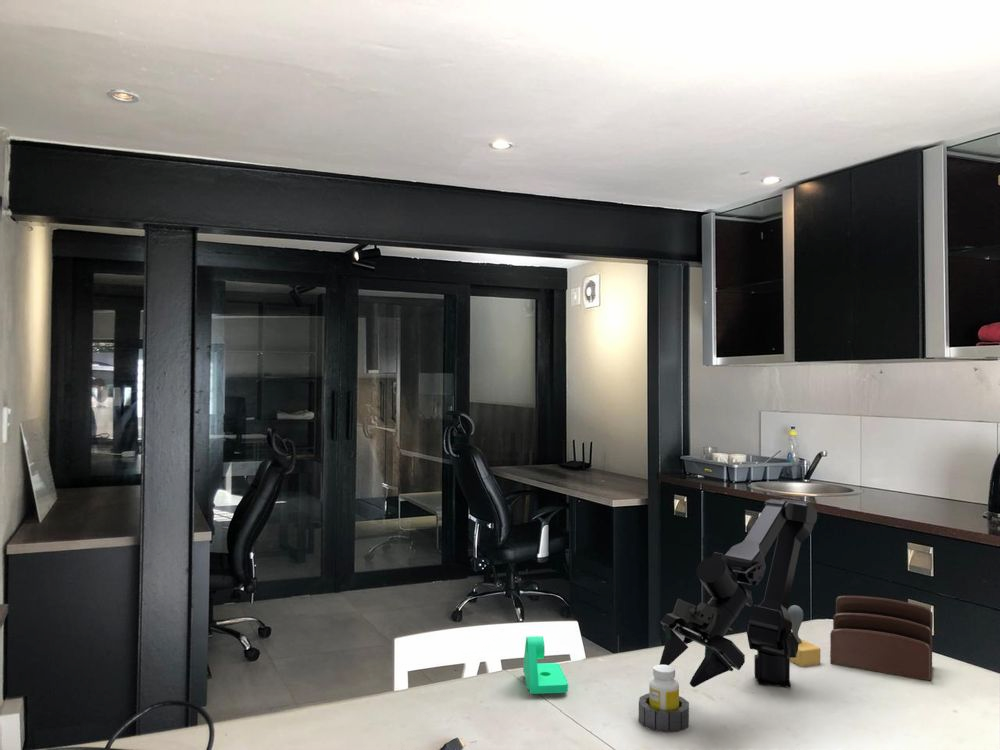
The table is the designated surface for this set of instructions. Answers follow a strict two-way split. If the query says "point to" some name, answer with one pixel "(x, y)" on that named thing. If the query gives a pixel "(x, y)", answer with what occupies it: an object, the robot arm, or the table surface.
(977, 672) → the table surface
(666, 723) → the ring
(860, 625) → the letter holder
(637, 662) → the table surface
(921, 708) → the table surface
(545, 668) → the camera mount
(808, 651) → the rubber stamp
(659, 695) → the supplement bottle
